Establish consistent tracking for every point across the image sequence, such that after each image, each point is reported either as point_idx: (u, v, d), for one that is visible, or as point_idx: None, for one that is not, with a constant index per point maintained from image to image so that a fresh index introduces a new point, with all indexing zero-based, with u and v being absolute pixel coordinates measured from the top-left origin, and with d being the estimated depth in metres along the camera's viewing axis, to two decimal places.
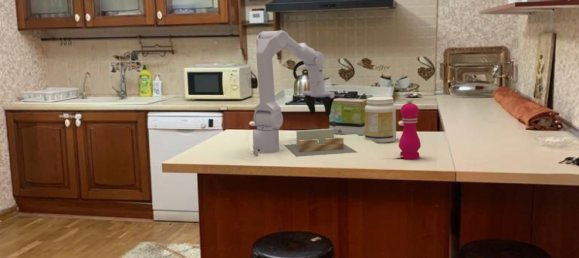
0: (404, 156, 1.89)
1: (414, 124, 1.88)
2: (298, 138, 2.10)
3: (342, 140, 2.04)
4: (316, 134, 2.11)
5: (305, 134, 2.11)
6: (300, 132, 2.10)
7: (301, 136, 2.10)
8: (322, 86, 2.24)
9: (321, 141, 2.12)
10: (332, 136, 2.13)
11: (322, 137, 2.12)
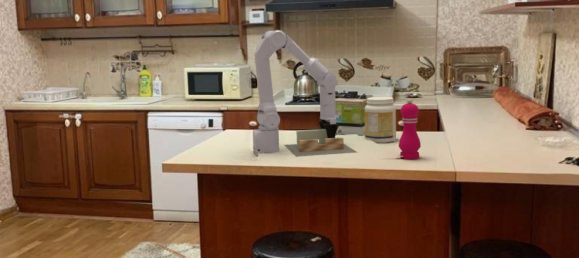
0: (404, 156, 1.89)
1: (414, 124, 1.88)
2: (298, 138, 2.10)
3: (342, 140, 2.04)
4: (316, 134, 2.11)
5: (305, 134, 2.11)
6: (300, 132, 2.10)
7: (301, 136, 2.10)
8: (329, 110, 2.09)
9: (321, 141, 2.12)
10: None
11: (322, 137, 2.12)
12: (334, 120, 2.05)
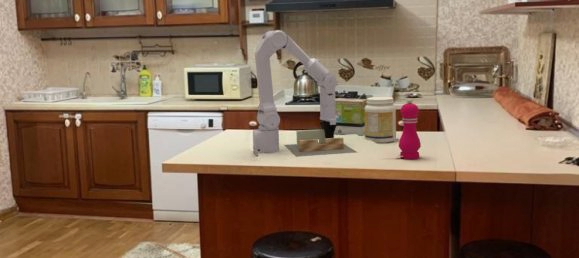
0: (404, 156, 1.89)
1: (414, 124, 1.88)
2: (298, 138, 2.10)
3: (342, 140, 2.04)
4: (316, 134, 2.11)
5: (305, 134, 2.11)
6: (300, 132, 2.10)
7: (301, 136, 2.10)
8: (329, 111, 2.09)
9: (321, 141, 2.12)
10: None
11: (322, 137, 2.12)
12: (334, 121, 2.05)
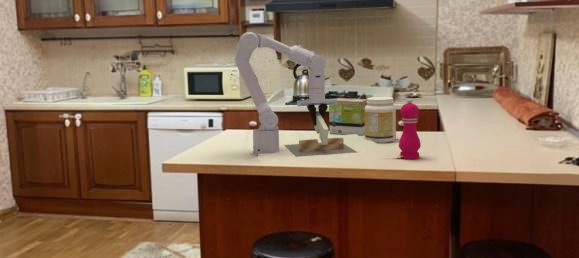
0: (404, 156, 1.89)
1: (414, 124, 1.88)
2: (327, 135, 1.97)
3: (342, 140, 2.04)
4: None
5: None
6: None
7: None
8: None
9: None
10: None
11: None
12: None
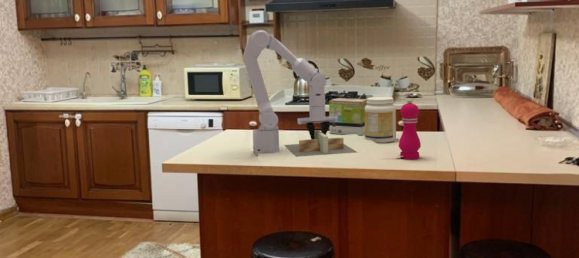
0: (404, 156, 1.89)
1: (414, 124, 1.88)
2: (327, 143, 1.98)
3: (342, 140, 2.04)
4: None
5: None
6: None
7: None
8: None
9: None
10: None
11: None
12: None
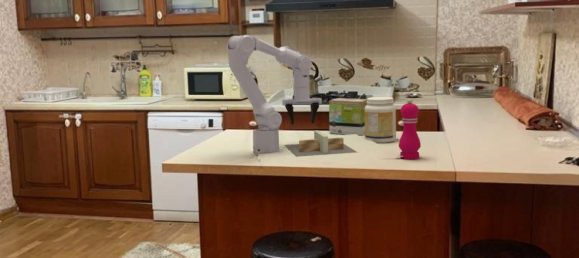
0: (404, 156, 1.89)
1: (414, 124, 1.88)
2: (327, 143, 1.98)
3: (342, 140, 2.04)
4: None
5: None
6: None
7: None
8: None
9: None
10: None
11: None
12: None
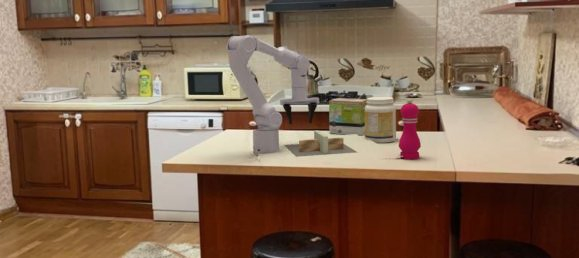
0: (404, 156, 1.89)
1: (414, 124, 1.88)
2: (327, 143, 1.98)
3: (342, 140, 2.04)
4: None
5: None
6: None
7: None
8: None
9: None
10: None
11: None
12: None
